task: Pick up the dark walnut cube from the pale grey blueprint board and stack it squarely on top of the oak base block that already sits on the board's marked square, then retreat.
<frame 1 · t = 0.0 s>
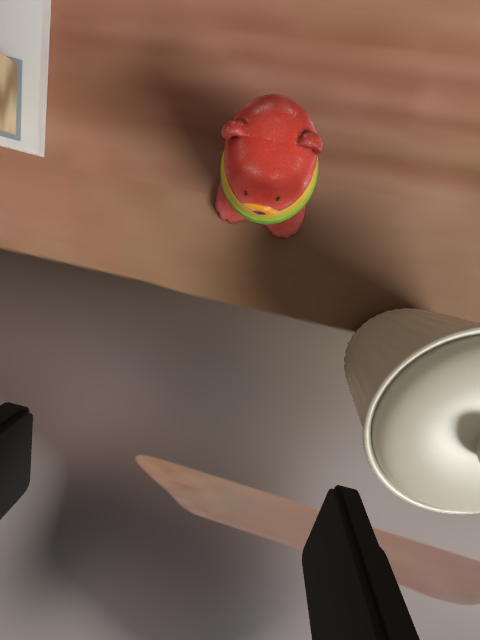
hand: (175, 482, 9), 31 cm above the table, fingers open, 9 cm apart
stacking bear: (265, 187, 35), on the table
canister: (390, 352, 40), on the table
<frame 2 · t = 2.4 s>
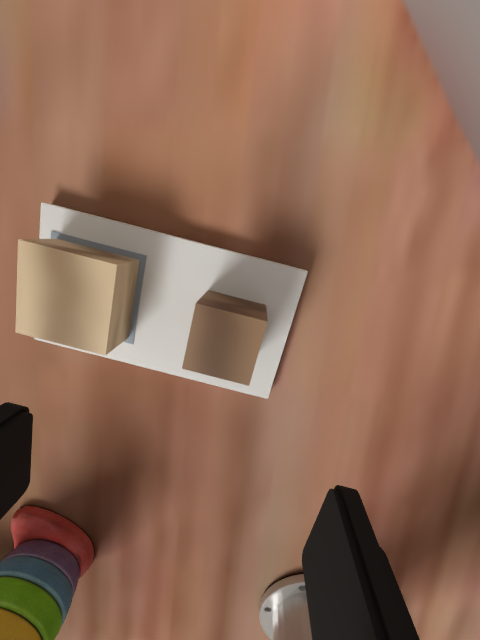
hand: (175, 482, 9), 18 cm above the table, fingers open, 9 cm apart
blueprint board: (166, 304, 26), on the table
stacking bear: (57, 542, 36), on the table
walnut cube: (230, 325, 25), point 1 cm above the table, touching blueprint board
oak base block: (93, 290, 25), point 1 cm above the table, touching blueprint board
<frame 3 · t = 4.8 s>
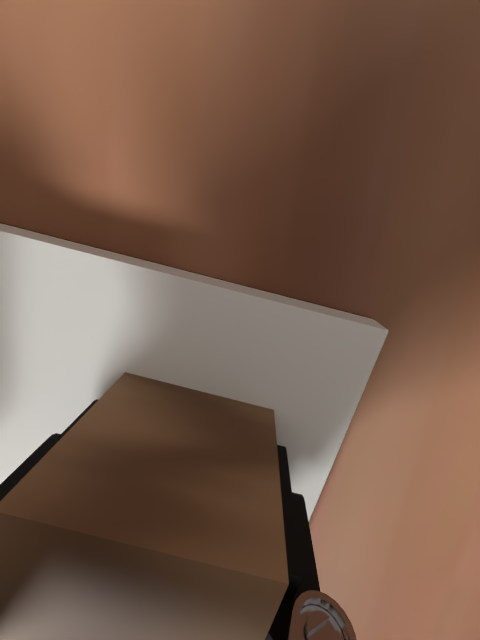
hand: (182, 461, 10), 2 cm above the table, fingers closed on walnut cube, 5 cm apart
blueprint board: (42, 392, 11), on the table
walnut cube: (185, 452, 10), point 1 cm above the table, touching blueprint board, gripper
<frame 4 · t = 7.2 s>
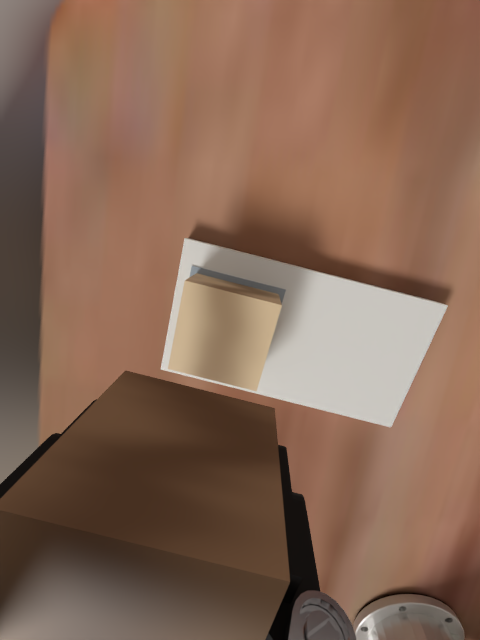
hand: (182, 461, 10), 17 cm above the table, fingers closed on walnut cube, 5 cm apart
blueprint board: (293, 334, 27), on the table
walnut cube: (185, 450, 10), point 17 cm above the table, touching gripper
oak base block: (227, 322, 25), point 1 cm above the table, touching blueprint board
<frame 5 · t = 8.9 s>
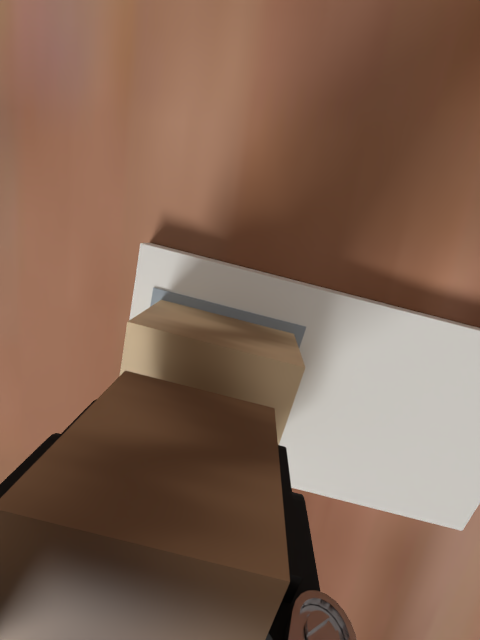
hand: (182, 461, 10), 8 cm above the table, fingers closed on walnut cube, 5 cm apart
blueprint board: (315, 391, 17), on the table
walnut cube: (185, 450, 10), point 7 cm above the table, touching gripper
oak base block: (212, 376, 16), point 1 cm above the table, touching blueprint board
when the fingers open (7 cm above the table, at t = 9.9 s): walnut cube stays where it is, resting on oak base block.
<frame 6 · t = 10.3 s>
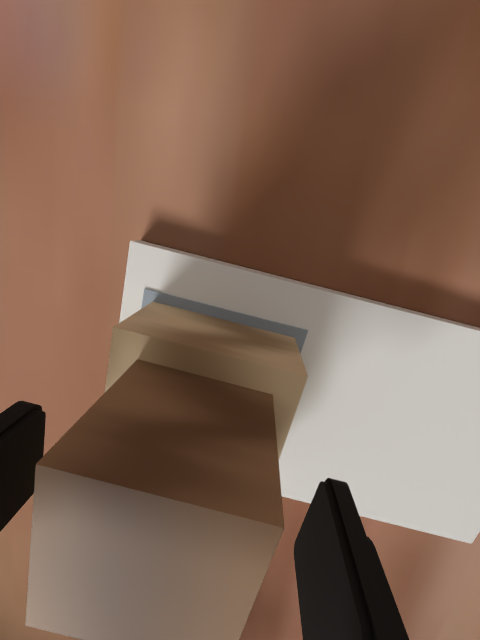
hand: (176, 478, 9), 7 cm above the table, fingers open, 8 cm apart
blueprint board: (317, 398, 16), on the table
walnut cube: (191, 433, 11), point 5 cm above the table, touching oak base block
oak base block: (208, 383, 15), point 1 cm above the table, touching blueprint board, walnut cube
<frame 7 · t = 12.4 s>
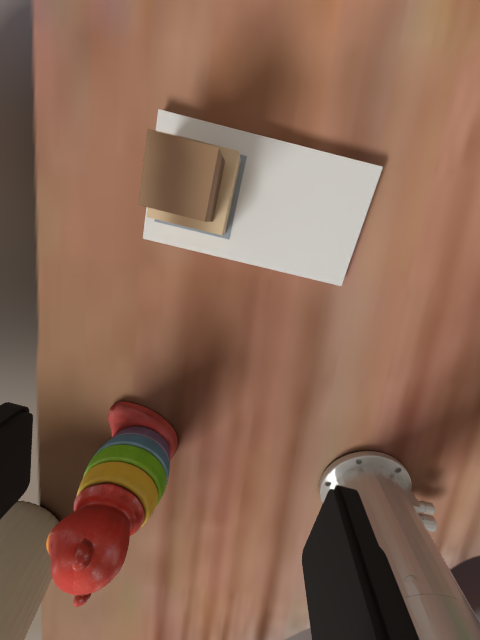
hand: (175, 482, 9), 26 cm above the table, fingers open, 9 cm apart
blueprint board: (256, 205, 31), on the table
stacking bear: (144, 436, 41), on the table
walnut cube: (191, 185, 26), point 5 cm above the table, touching oak base block
canister: (30, 523, 48), on the table
oak base block: (198, 190, 30), point 1 cm above the table, touching blueprint board, walnut cube
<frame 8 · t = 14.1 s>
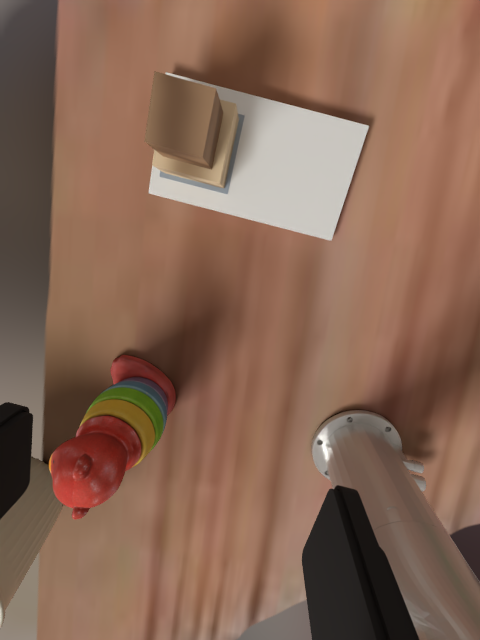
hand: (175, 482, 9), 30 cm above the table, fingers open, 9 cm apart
blueprint board: (253, 163, 34), on the table
stacking bear: (144, 392, 43), on the table
walnut cube: (192, 135, 29), point 5 cm above the table, touching oak base block
canister: (32, 480, 50), on the table
oak base block: (200, 147, 32), point 1 cm above the table, touching blueprint board, walnut cube
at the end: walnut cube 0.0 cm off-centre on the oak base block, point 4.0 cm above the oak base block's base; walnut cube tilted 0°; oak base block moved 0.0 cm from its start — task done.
